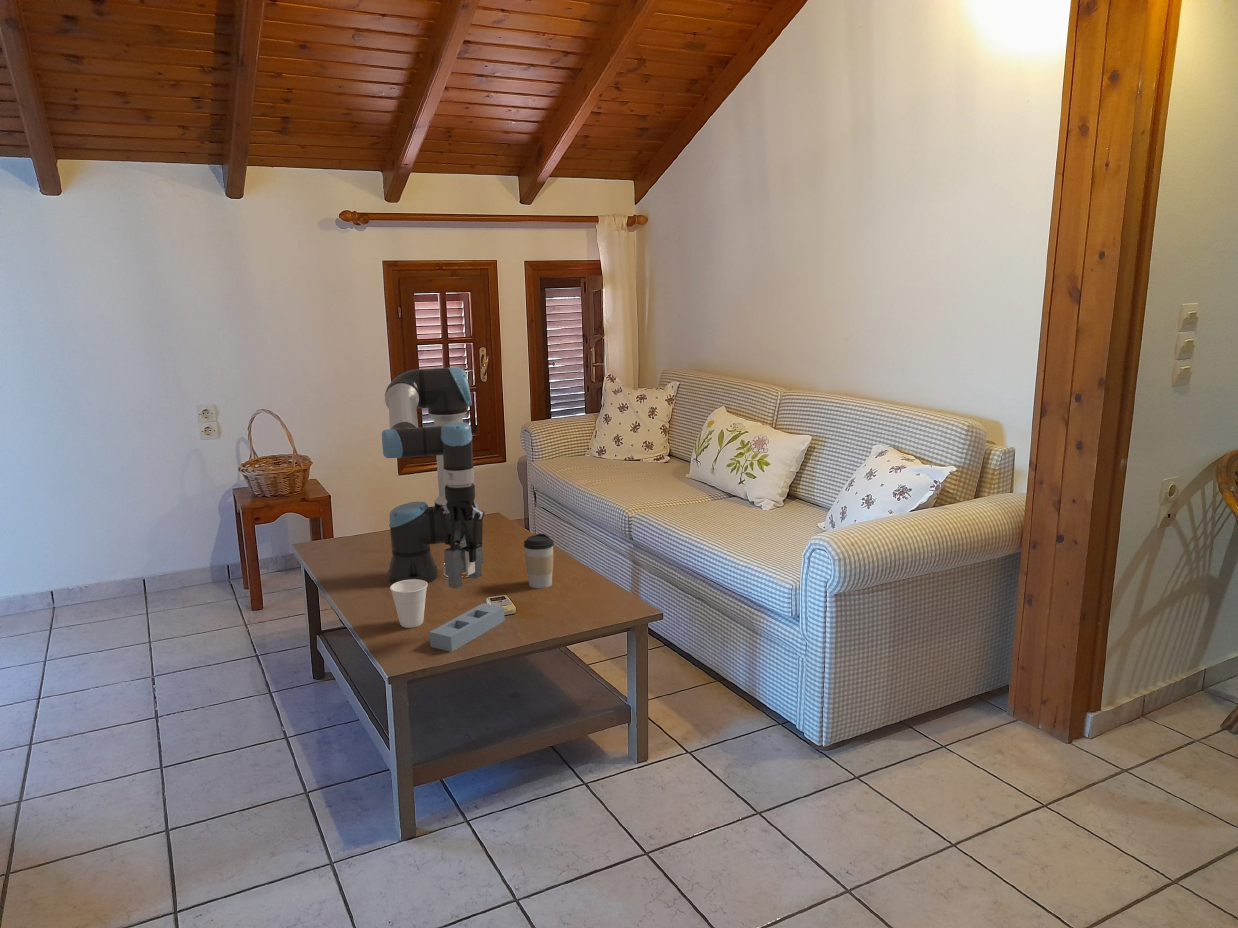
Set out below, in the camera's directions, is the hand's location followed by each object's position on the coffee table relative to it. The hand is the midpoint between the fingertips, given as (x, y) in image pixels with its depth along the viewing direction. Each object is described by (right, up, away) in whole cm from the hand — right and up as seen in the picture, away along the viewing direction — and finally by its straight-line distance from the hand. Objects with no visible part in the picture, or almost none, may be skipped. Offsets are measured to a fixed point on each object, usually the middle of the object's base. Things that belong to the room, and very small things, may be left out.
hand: (465, 572), depth 229 cm
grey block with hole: (0, -17, +4) cm, 17 cm away
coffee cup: (+16, -9, +39) cm, 43 cm away
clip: (0, -2, +1) cm, 3 cm away
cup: (-16, -16, +11) cm, 25 cm away
